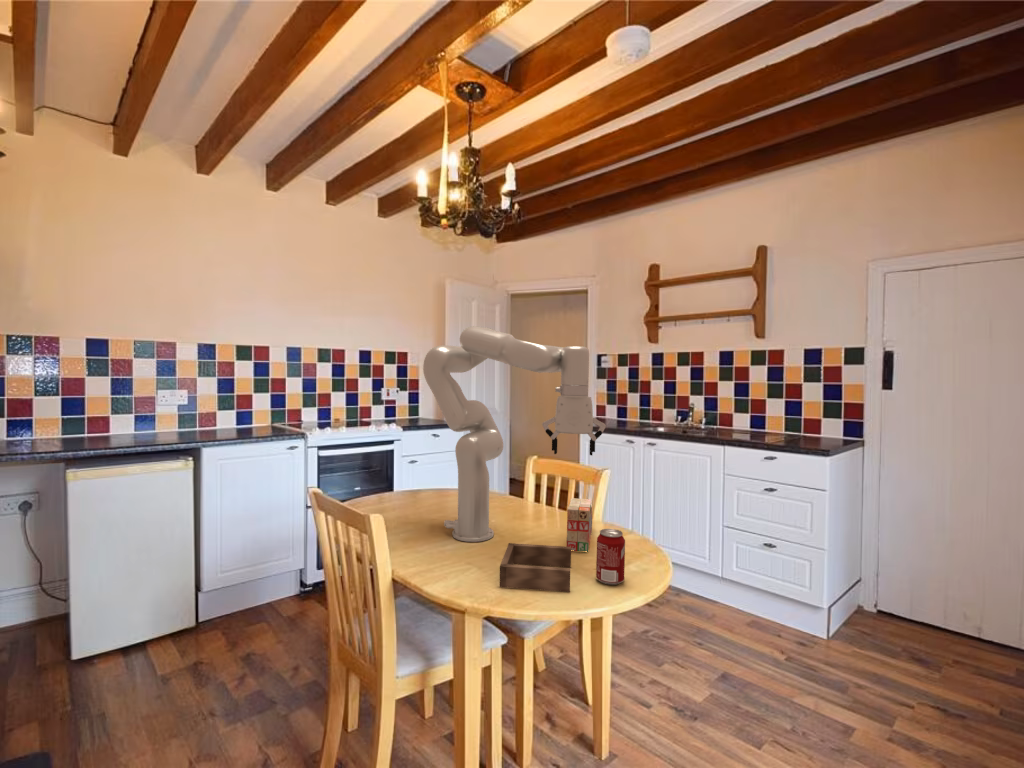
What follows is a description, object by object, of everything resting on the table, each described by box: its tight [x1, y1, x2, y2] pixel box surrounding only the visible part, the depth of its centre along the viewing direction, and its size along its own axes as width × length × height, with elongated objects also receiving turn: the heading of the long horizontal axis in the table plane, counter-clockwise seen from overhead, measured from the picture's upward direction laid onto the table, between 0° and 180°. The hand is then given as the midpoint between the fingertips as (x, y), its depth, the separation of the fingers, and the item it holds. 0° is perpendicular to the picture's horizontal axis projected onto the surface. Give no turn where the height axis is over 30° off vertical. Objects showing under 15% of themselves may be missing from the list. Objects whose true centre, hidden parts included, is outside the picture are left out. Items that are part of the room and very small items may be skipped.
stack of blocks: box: [566, 497, 593, 553], centre depth 155 cm, size 21×6×12 cm, turn 168°
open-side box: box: [499, 542, 572, 593], centre depth 128 cm, size 16×16×5 cm
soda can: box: [595, 528, 626, 586], centre depth 126 cm, size 7×7×12 cm
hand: (573, 454), depth 141 cm, fingers open, 9 cm apart
